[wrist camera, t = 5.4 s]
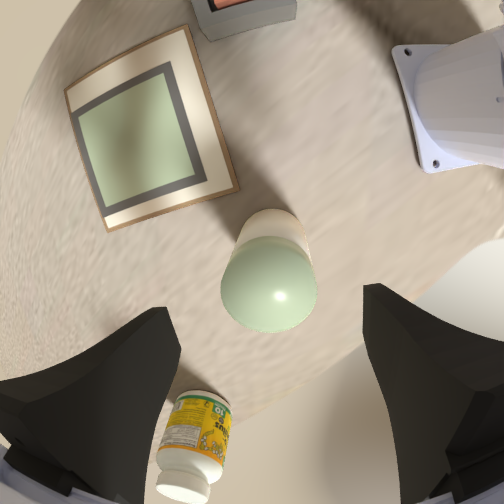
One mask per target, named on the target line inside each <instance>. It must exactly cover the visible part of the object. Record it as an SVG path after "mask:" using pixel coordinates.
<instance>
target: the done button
mask: <svg viewBox="0 0 504 504" xmlns="http://www.w3.org/2000/svg"><path fill="white" fill-rule="evenodd" d="M249 1H253V0H214V2H215V5H216V7H217V8H218V10H221V9H225V8H228V7H231V6H235V5H238V4H242V3H246V2H249Z"/></svg>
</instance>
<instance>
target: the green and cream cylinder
mask: <svg viewBox="0 0 504 504" xmlns="http://www.w3.org/2000/svg"><path fill="white" fill-rule="evenodd" d="M221 298H222V301H223V304H224V306H225V308H226V310H227V312H228V313H229V314H230V315H231V317H232V318H233V319H234V320H236V321H237V322H238V323H240V324H241V325H243V326H245V327H246V328H249V329H251V330H255V331H258V332H266V333H275V332H281V331H285V330H288V329H291V328H293V327H295V326H297V325H298V324H300V323H301V322H302V321H303V320H305V319H306V318H307V316H308V315H309V314H310V313H311V311H312V309H313V307H314V305H315V302H316V298H317V284H316V279H315V274H314V270H313V266H312V261H311V257H310V253H309V248H308V244H307V240H306V236H305V232H304V229H303V227H302V225H301V223H300V222H299V221H298V219H297V218H296V217H294V216H293V215H292V214H290V213H288V212H286V211H284V210H280V209H265V210H261V211H259V212H257V213H255V214H253V215H252V216H251V217H250V218H249V219H248V220H247V221H246V222H245V224H244V225H243V227H242V230H241V232H240V235H239V237H238V240H237V242H236V245H235V247H234V250H233V252H232V255H231V257H230V260H229V262H228V265H227V267H226V270H225V273H224V275H223V278H222V281H221Z"/></svg>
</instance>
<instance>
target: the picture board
mask: <svg viewBox="0 0 504 504" xmlns="http://www.w3.org/2000/svg"><path fill="white" fill-rule="evenodd" d="M64 94H65V98H66V103H67V107H68V111H69V115H70V119H71V123H72V127H73V131H74V135H75V138H76V142H77V145H78V149H79V152H80V156H81V159H82V162H83V166H84V169H85V172H86V175H87V178H88V181H89V184H90V187H91V190H92V193H93V196H94V199H95V202H96V204H97V207H98V210H99V213H100V215H101V218H102V220H103V223H104V226H105V228H106V231H107V233H109V232H112V231H115V230H118V229H120V228H123V227H126V226H129V225H132V224H135V223H138V222H141V221H144V220H147V219H150V218H153V217H156V216H159V215H162V214H165V213H168V212H171V211H174V210H177V209H180V208H183V207H187V206H190V205H193V204H196V203H200V202H203V201H206V200H210V199H213V198H216V197H220V196H223V195H227V194H230V193H234V192H237V191H240V188H239V185H238V182H237V178H236V175H235V172H234V169H233V166H232V162H231V159H230V156H229V153H228V149H227V146H226V143H225V140H224V137H223V133H222V130H221V127H220V124H219V121H218V117H217V114H216V111H215V108H214V105H213V102H212V98H211V95H210V92H209V89H208V86H207V83H206V79H205V76H204V73H203V70H202V67H201V64H200V60H199V57H198V54H197V51H196V48H195V45H194V42H193V39H192V35H191V32H190V29H189V26H188V24H186V25H183V26H181V27H178V28H176V29H173V30H171V31H169V32H166V33H164V34H162V35H160V36H157V37H155V38H153V39H151V40H149V41H146V42H144V43H142V44H140V45H138V46H136V47H134V48H132V49H130V50H128V51H126V52H125V53H123V54H121V55H119V56H117V57H115V58H113V59H112V60H110V61H108V62H106V63H105V64H103V65H101V66H100V67H98V68H96V69H95V70H93V71H91V72H90V73H88V74H86V75H85V76H83V77H82V78H80V79H79V80H77V81H76V82H74V83H73V84H71V85H70V86H68V87H67V88H65V89H64Z"/></svg>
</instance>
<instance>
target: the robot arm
mask: <svg viewBox="0 0 504 504" xmlns="http://www.w3.org/2000/svg"><path fill="white" fill-rule="evenodd" d="M499 8H500V10H501V12H502V13H503V15H504V0H502V3H501V4H500V5H499ZM404 50H407V51H408V52H409V55H410V56H407V55H406V54H405V53H404ZM391 52H392V56H393V59H394V62H395V65H396V68H397V71H398V74H399V78H400V81H401V84H402V88H403V91H404V95H405V98H406V102H407V106H408V110H409V114H410V118H411V122H412V126H413V131H414V135H415V140H416V145H417V150H418V155H419V161H420V166H421V169H422V170H423V171H424V172H426V173H435V172H440V171H445V170H450V169H455V168H460V167H466V166H471V165H476V164H485V165H489V166H493V167H497V168H501V169H504V24H503V25H501V26H498V27H495V28H492V29H490V30H487V31H484V32H482V33H479V34H477V35H474V36H472V37H469V38H467V39H464V40H462V41H459V42H457V43H455V44H452V45H448V44H417V45H397V46H395V47H394V48H393V49H392V51H391ZM434 160H436V162H437V165H436V167H433V161H434ZM363 336H364V341H365V344H366V349H367V352H368V356H369V359H370V362H371V364H372V367H373V369H374V372H375V375H376V377H377V380H378V383H379V385H380V388H381V391H382V394H383V396H384V399H385V402H386V405H387V408H388V412H389V417H390V421H391V426H392V431H393V437H394V443H395V449H396V455H397V463H398V472H399V481H400V497H401V504H504V342H502V341H498V340H495V339H491V338H487V337H484V336H481V335H477V334H475V333H471V332H469V331H466V330H463V329H461V328H459V327H456V326H454V325H452V324H449V323H447V322H445V321H442V320H441V319H439V318H437V317H435V316H433V315H431V314H429V313H428V312H426V311H424V310H422V309H421V308H419V307H417V306H416V305H414V304H412V303H411V302H409V301H408V300H406V299H405V298H403V297H401V296H400V295H398V294H397V293H395V292H394V291H392V290H391V289H389V288H388V287H386V286H384V285H383V284H381V283H376V284H370V285H363ZM180 354H181V346H180V344H179V341H178V338H177V335H176V333H175V330H174V327H173V324H172V321H171V319H170V316H169V313H168V310H167V307H153V308H151V309H149V310H147V311H145V312H143V313H142V314H140V315H139V316H137V317H136V318H134V319H133V320H131V321H130V322H128V323H127V324H126V325H124V326H123V327H121V328H120V329H118V330H117V331H115V332H114V333H113V334H111V335H109V336H108V337H106V338H105V339H103V340H102V341H100V342H99V343H97V344H96V345H94V346H92V347H91V348H89V349H87V350H86V351H84V352H82V353H80V354H78V355H76V356H74V357H72V358H70V359H68V360H66V361H64V362H62V363H59V364H57V365H55V366H52V367H50V368H47V369H45V370H42V371H39V372H36V373H33V374H29V375H26V376H22V377H18V378H13V379H8V380H3V381H0V433H1V434H2V435H3V436H4V437H5V438H6V440H7V441H8V442H9V443H10V444H11V447H10V448H9V449H7V448H6V447H4V446H3V445H2V444H0V504H144V492H145V481H146V473H147V466H148V460H149V454H150V449H151V444H152V440H153V435H154V431H155V427H156V423H157V420H158V417H159V414H160V412H161V409H162V407H163V404H164V402H165V399H166V397H167V394H168V392H169V389H170V387H171V384H172V381H173V379H174V376H175V373H176V371H177V367H178V363H179V358H180Z"/></svg>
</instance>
